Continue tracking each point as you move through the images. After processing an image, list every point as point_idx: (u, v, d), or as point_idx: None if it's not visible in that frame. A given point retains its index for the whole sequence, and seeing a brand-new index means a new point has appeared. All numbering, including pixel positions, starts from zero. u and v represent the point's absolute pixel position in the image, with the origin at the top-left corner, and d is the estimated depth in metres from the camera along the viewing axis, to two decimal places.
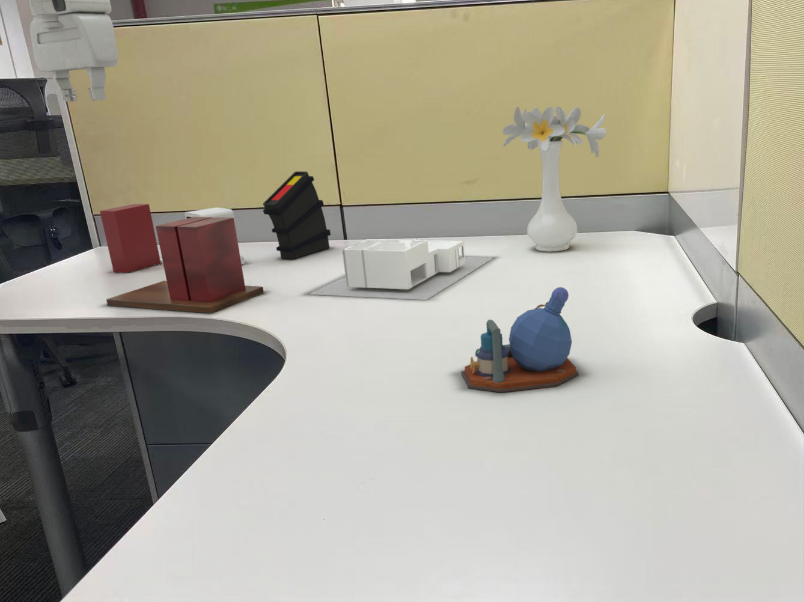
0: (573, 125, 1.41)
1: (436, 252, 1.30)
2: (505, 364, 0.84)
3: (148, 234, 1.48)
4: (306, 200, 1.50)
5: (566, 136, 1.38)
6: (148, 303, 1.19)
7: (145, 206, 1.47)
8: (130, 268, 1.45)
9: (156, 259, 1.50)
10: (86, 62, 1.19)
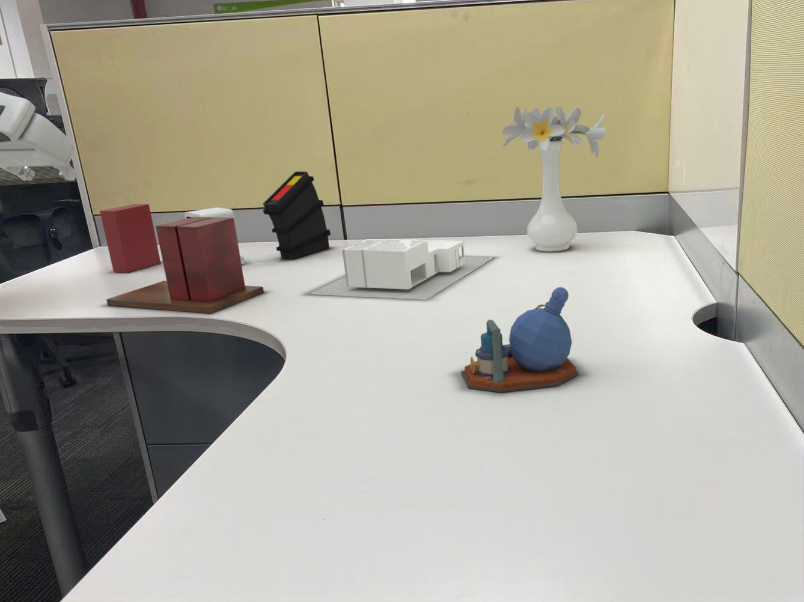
0: (573, 125, 1.41)
1: (436, 252, 1.30)
2: (505, 364, 0.84)
3: (148, 234, 1.48)
4: (306, 200, 1.50)
5: (566, 136, 1.38)
6: (148, 303, 1.19)
7: (145, 206, 1.47)
8: (130, 268, 1.45)
9: (156, 259, 1.50)
10: (53, 164, 1.23)
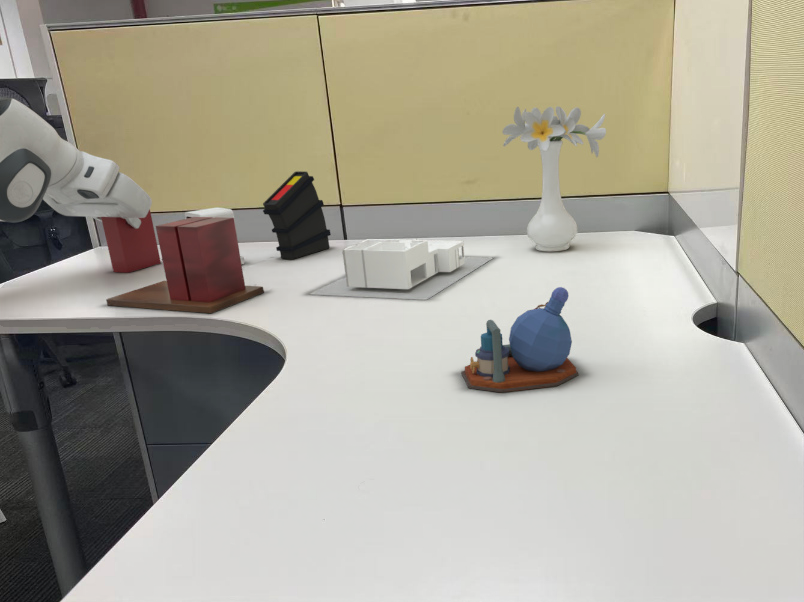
0: (573, 125, 1.41)
1: (436, 252, 1.30)
2: (505, 364, 0.84)
3: (148, 234, 1.48)
4: (306, 200, 1.50)
5: (566, 136, 1.38)
6: (148, 303, 1.19)
7: None
8: (130, 268, 1.45)
9: (156, 259, 1.50)
10: (132, 216, 1.38)
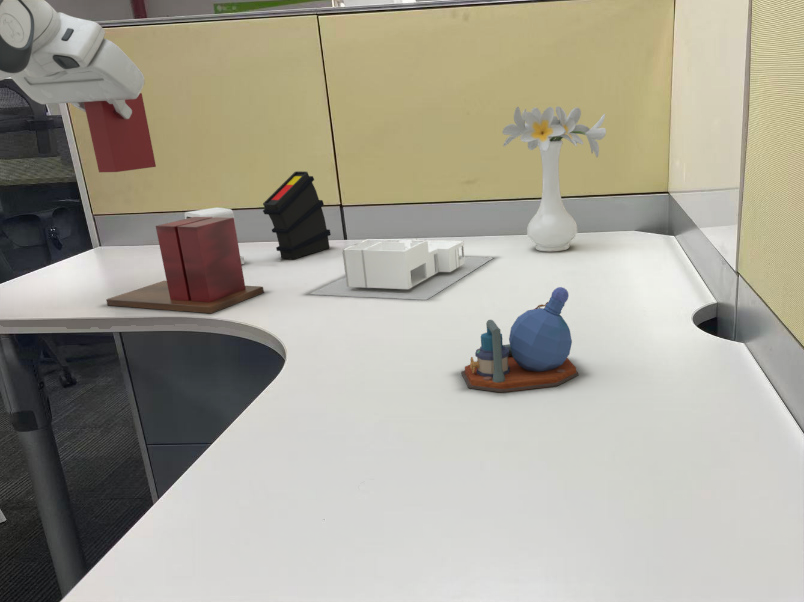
0: (573, 125, 1.41)
1: (436, 252, 1.30)
2: (505, 364, 0.84)
3: (141, 129, 1.24)
4: (306, 200, 1.50)
5: (566, 136, 1.38)
6: (148, 303, 1.19)
7: None
8: (119, 167, 1.21)
9: (150, 161, 1.26)
10: (121, 97, 1.14)
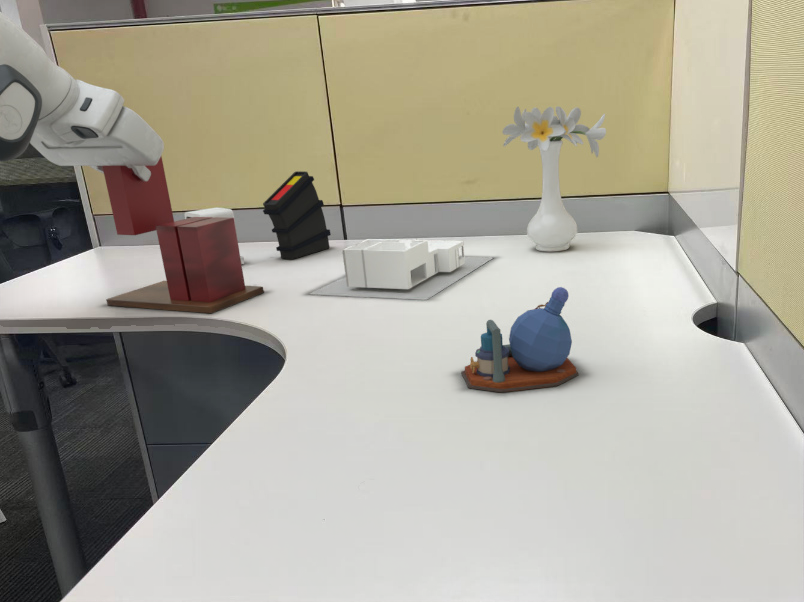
0: (573, 125, 1.41)
1: (436, 252, 1.30)
2: (505, 364, 0.84)
3: (160, 189, 1.22)
4: (306, 200, 1.50)
5: (566, 136, 1.38)
6: (148, 303, 1.19)
7: None
8: (138, 230, 1.19)
9: (169, 220, 1.24)
10: (140, 163, 1.11)
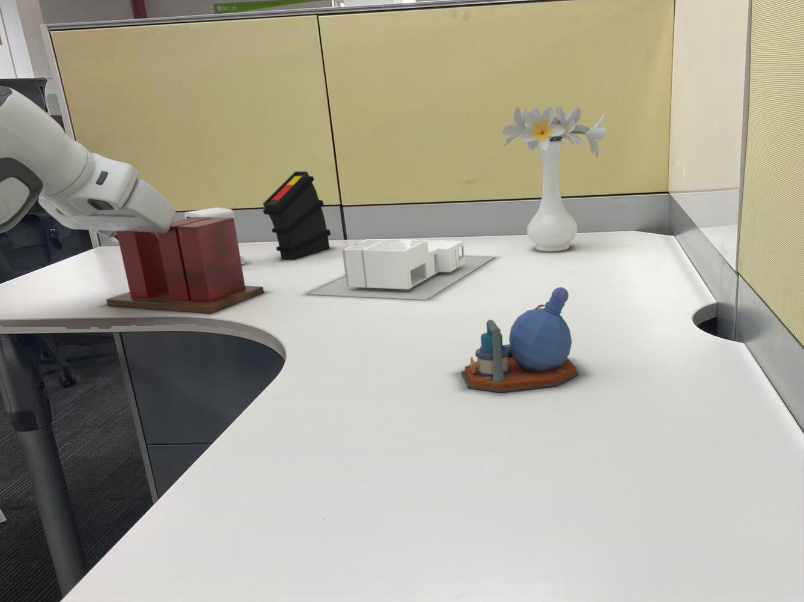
0: (573, 125, 1.41)
1: (436, 252, 1.30)
2: (505, 364, 0.84)
3: None
4: (306, 200, 1.50)
5: (566, 136, 1.38)
6: (148, 303, 1.19)
7: None
8: (151, 293, 1.22)
9: None
10: (152, 231, 1.15)
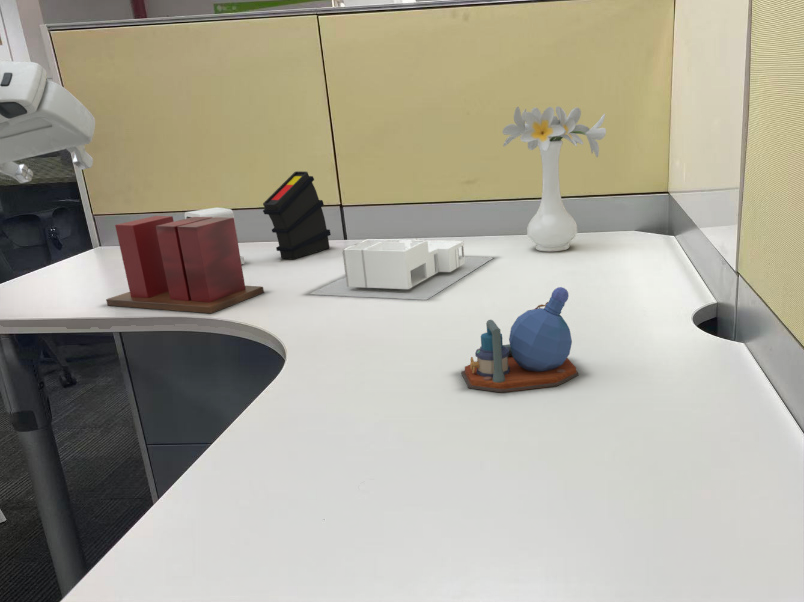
0: (573, 125, 1.41)
1: (436, 252, 1.30)
2: (505, 364, 0.84)
3: None
4: (306, 200, 1.50)
5: (566, 136, 1.38)
6: (148, 303, 1.19)
7: (168, 219, 1.24)
8: (151, 293, 1.22)
9: None
10: (72, 144, 1.02)
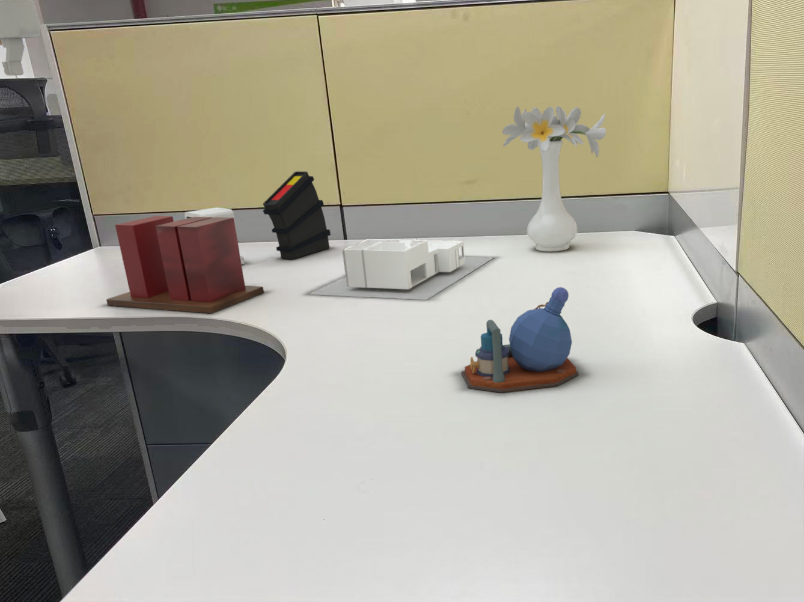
0: (573, 125, 1.41)
1: (436, 252, 1.30)
2: (505, 364, 0.84)
3: None
4: (306, 200, 1.50)
5: (566, 136, 1.38)
6: (148, 303, 1.19)
7: (168, 219, 1.24)
8: (151, 293, 1.22)
9: None
10: None
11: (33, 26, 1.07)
